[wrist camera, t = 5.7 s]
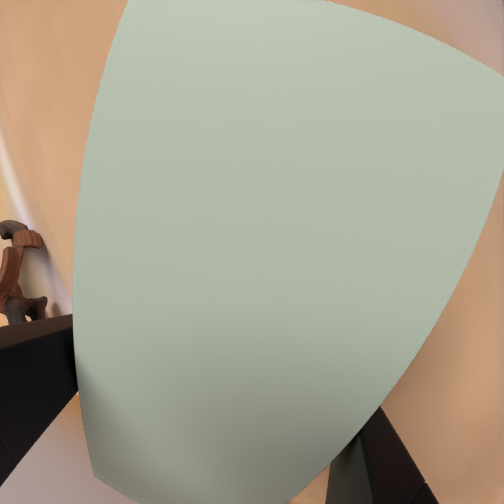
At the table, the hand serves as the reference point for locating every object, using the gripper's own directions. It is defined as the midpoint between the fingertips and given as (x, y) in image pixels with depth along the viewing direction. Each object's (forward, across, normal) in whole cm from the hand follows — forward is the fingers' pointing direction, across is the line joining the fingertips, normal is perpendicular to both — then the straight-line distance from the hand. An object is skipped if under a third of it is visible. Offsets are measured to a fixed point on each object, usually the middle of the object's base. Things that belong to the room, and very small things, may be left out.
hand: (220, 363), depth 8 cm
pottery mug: (+12, +25, +8) cm, 28 cm away
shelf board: (+2, 0, 0) cm, 2 cm away
